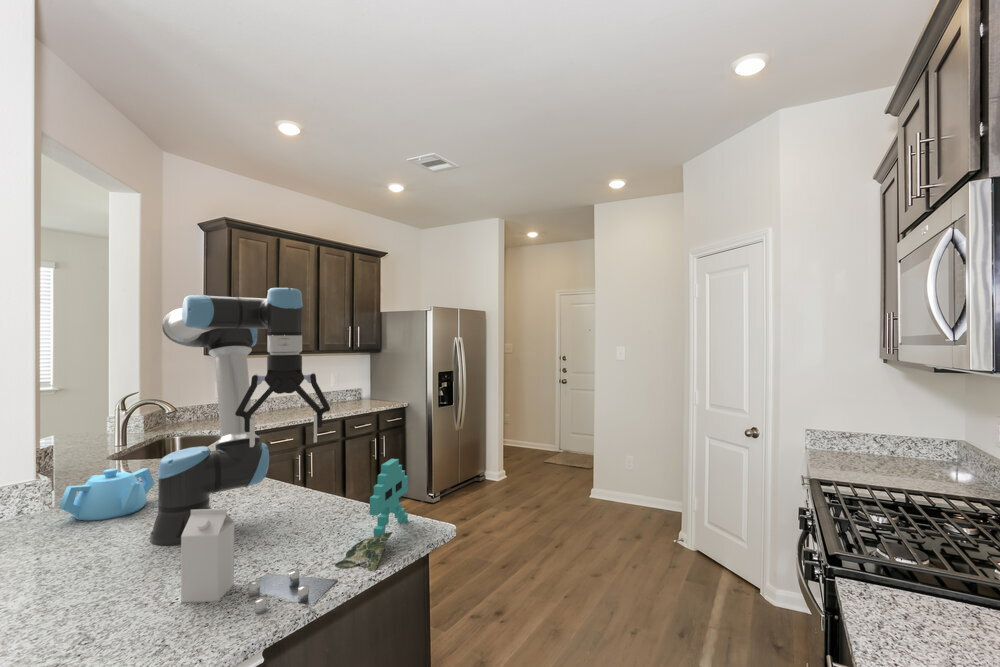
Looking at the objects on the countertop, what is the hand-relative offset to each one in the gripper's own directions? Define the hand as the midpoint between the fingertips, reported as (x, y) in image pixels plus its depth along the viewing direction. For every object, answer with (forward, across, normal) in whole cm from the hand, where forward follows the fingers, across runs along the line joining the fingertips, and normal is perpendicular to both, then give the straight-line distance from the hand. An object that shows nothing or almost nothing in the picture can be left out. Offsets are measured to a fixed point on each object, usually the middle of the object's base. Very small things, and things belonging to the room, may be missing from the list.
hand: (284, 443), depth 113 cm
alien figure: (+30, +26, +12) cm, 41 cm away
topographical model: (+30, +16, -2) cm, 34 cm away
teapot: (+30, -52, +57) cm, 83 cm away
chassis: (+29, 0, -16) cm, 33 cm away
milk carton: (+30, -14, -9) cm, 34 cm away
